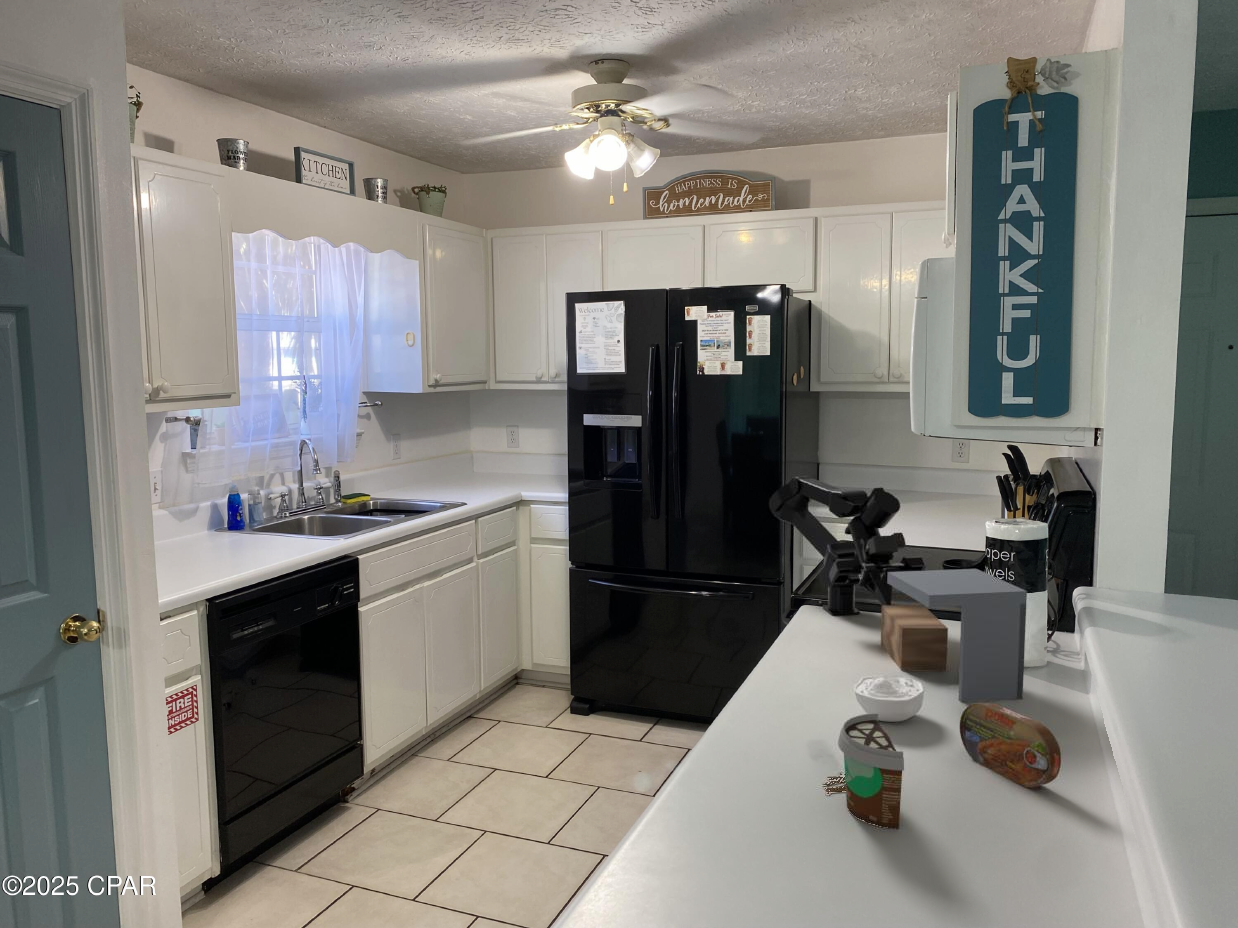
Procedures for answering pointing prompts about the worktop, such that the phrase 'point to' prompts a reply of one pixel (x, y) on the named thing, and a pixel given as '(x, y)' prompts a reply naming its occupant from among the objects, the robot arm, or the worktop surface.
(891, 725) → the worktop surface
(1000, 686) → the slate shelf
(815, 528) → the robot arm
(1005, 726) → the tin
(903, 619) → the walnut block
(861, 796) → the food container
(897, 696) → the white bowl of cream
